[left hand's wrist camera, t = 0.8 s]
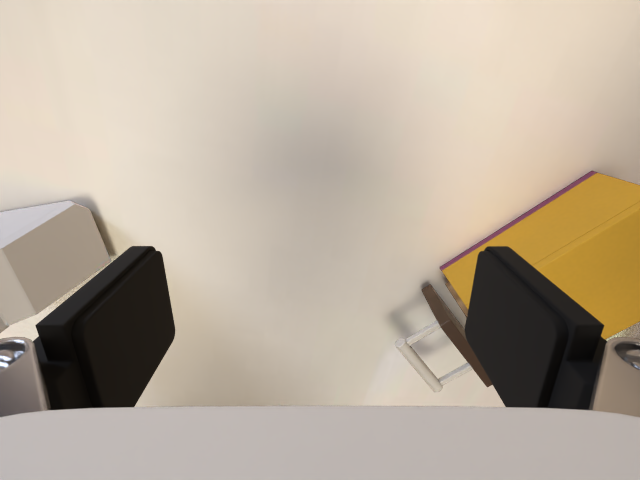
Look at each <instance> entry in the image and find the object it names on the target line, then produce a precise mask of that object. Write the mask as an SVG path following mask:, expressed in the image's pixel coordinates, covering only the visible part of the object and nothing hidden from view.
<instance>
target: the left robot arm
mask: <svg viewBox="0 0 640 480" xmlns="http://www.w3.org/2000/svg"><path fill="white" fill-rule="evenodd" d="M36 328H37V331H38V334H39V337H38V338H36V339H35V340H34V341H33V342H32V340H30V339H28V338H25V337H10V338H3V339H0V480H640V339H637V338H630V337H615V338H612V339H610V340H608V342H607V341H606V340H605V339H604V338H602V337H601V334H602V331H603V328H604V325H603V324H602V323H601V322H600V321H599V320H597V319H596V318H595V317H594V316H592V315H591V314H590V313H589V312H588V311H586V310H585V309H584V308H583V307H582V306H580V305H579V304H578V303H577V302H575V301H574V300H573V299H572V298H571V297H569V296H568V295H567V294H566V293H565V292H563V291H562V290H561V289H560V288H558V287H557V286H556V285H555V284H554V283H552V282H551V281H550V280H549V279H548V278H546V277H545V276H544V275H543V274H541V273H540V272H539V271H538V270H537V269H535V268H534V267H533V266H532V265H531V264H529V263H528V262H527V261H526V260H524V259H523V258H522V257H521V256H520V255H518V254H517V253H516V252H515V251H514V250H512V249H511V248H510V247H508V246H488V247H486V248H485V250H484V251H480V252H479V254H478V257H477V263H476V268H475V274H474V280H473V285H472V291H471V297H470V303H469V308H468V314H467V320H466V325H465V336H466V340H467V342H468V343H469V345H470V347H471V348H472V350H473V352H474V354H475V355H476V357H477V359H478V360H479V362H480V364H481V365H482V367H483V369H484V371H485V372H486V374H487V376H488V377H489V379H490V381H491V382H492V384H493V386H494V388H495V389H496V391H497V393H498V394H499V396H500V398H501V399H502V401H503V403H504V405H505V406H506V407H464V406H176V407H134V406H135V405H136V403H137V401H138V399H139V398H140V396H141V394H142V393H143V391H144V389H145V388H146V386H147V384H148V382H149V381H150V379H151V377H152V376H153V374H154V372H155V371H156V369H157V367H158V365H159V364H160V362H161V360H162V359H163V357H164V355H165V354H166V352H167V350H168V348H169V347H170V345H171V343H172V342H173V340H174V336H175V325H174V320H173V314H172V308H171V303H170V297H169V291H168V285H167V280H166V274H165V268H164V263H163V257H162V254H161V252H160V251H156V250H155V248H154V247H152V246H132V247H130V248H129V249H128V250H126V251H125V252H124V253H123V254H122V255H120V256H119V257H118V258H117V259H116V260H114V261H113V262H112V263H111V264H109V265H108V266H107V267H106V268H105V269H103V270H102V271H101V272H100V273H99V274H97V275H96V276H95V277H94V278H92V279H91V280H90V281H89V282H88V283H86V284H85V285H84V286H83V287H82V288H80V289H79V290H78V291H77V292H75V293H74V294H73V295H72V296H71V297H69V298H68V299H67V300H66V301H65V302H63V303H62V304H61V305H60V306H58V307H57V308H56V309H55V310H54V311H52V312H51V313H50V314H49V315H48V316H46V317H45V318H44V319H43V320H41V321H40V322H39V323H38V324H37V325H36Z"/></svg>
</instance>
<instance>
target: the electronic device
mask: <svg viewBox="0 0 640 480" xmlns="http://www.w3.org/2000/svg"><path fill="white" fill-rule="evenodd" d="M109 262H111V259H110V257H109V254H108V252H107V250H106V247H105V245H104V242H103V240H102V238H101V235H100V233H99V230H98V228H97V226H96V223H95V221H94V218H93V216H92V214H91V211H90V209H88V208H87V207H84V206H82V205H79V204H77V203H75V202H72V201H70V200H69V201H64V202H58V203H52V204H46V205H40V206H34V207H28V208H22V209H16V210H10V211H4V212H0V333H1V332H2V331H4V330H5V329H6V328H8V327H9V325H12V324H14V323H17V322H19V321H21V320H24V319H26V318H29V317H31V316H34V315H36V314H38V313H39V312H41V311H42V310H43V309H45V308H46V307H48V306H49V305H50V304H52V303H53V302H55V301H56V300H57V299H59V298H60V297H62V296H63V295H64V294H66V293H67V292H69V291H70V290H71V289H73V288H74V287H76V286H77V285H79V284H80V283H81V282H83V281H84V280H86V279H87V278H88V277H90V276H91V275H93V274H94V273H95V272H97V271H98V270H100V269H101V268H102V267H104V266H105V265H107V264H108V263H109Z"/></svg>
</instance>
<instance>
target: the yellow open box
mask: <svg viewBox="0 0 640 480" xmlns="http://www.w3.org/2000/svg"><path fill="white" fill-rule="evenodd" d="M488 246H508V247H510V248H511V249H512V250H514V251H515V252H516V253H517V254H518V255H520V256H521V257H522V258H523V259H524V260H526V261H527V262H528V263H529V264H531V265H532V266H533V267H534V268H535V269H537V270H538V271H539V272H540V273H541V274H543V275H544V276H545V277H546V278H548V279H549V280H550V281H551V282H552V283H554V284H555V285H556V286H557V287H558V288H560V289H561V290H562V291H563V292H565V293H566V294H567V295H568V296H569V297H571V298H572V299H573V300H574V301H575V302H577V303H578V304H579V305H580V306H582V307H583V308H584V309H585V310H586V311H588V312H589V313H590V314H591V315H592V316H594V317H595V318H596V319H597V320H599V321H600V322H601V323H602V324H603V325H604V328H603V331H602V334H601V337H602V338H604V339H607V338H609V337H611V336H613V335H615V334H616V333H618V332H620V331H622V330H624V329H626V328H628V327H630V326H632V325H634V324H636V323H638V322H639V321H640V185H637V184H634V183H630V182H627V181H624V180H620V179H617V178H613V177H610V176H607V175H603V174H600V173H597V172H594V171H591V172H589V173H588V174H586V175H585V176H583V177H582V178H580V179H578V180H577V181H575V182H574V183H572V184H571V185H569V186H567V187H566V188H564V189H563V190H561V191H559V192H558V193H556V194H555V195H553V196H552V197H550V198H548V199H547V200H545V201H544V202H542V203H541V204H539V205H537V206H536V207H534V208H533V209H531V210H530V211H528V212H526V213H525V214H523V215H522V216H520V217H518V218H517V219H515V220H514V221H512V222H511V223H509V224H507V225H506V226H504V227H503V228H501V229H500V230H498V231H496V232H495V233H493V234H492V235H490V236H489V237H487V238H485V239H484V240H482V241H481V242H479V243H478V244H476V245H474V246H473V247H471V248H470V249H468V250H466V251H465V252H463V253H462V254H460V255H459V256H457V257H455V258H454V259H452V260H451V261H449V262H448V263H446V264H444V265H443V266H441V267H440V269H441V271H442V272H443V273H444V275H445V276H446V278H447V279H448V281H449V282H450V284H451V285H452V287H453V288H454V290H455V291H456V293H457V294H458V296H459V297H460V298H461V300H462V301H463V303H464V304H465V306H466V307H467V309H468V308H469V303H470V297H471V291H472V285H473V280H474V274H475V268H476V263H477V257H478V254H479V252H480V251H484V250H485V248H486V247H488Z"/></svg>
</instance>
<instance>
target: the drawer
mask: <svg viewBox="0 0 640 480" xmlns="http://www.w3.org/2000/svg"><path fill="white" fill-rule="evenodd" d="M446 286H447V288H448V289H449V291H450V292H451V294H452V295H453V297H454V299H455V300H456V302H457V303H458V305H459V306H460V308H461V309H462V311H463V312H464V314H465V316H466V317H467V314H468V309H467V307H466V306H465V304H464V303H463V301H462V300H461V298H460V297H459V296H458V294H457V293H456V291H455V290H454V288H453V287H452V285H451V284H450V282H447V283H446ZM422 292H423V294H424V296H425V298H426V300H427V302H428V304H429V306H430V308H431V310H432V312H433V314H434V315H435V317H436V319H437V321H435V322H433V323H432V324H430V325H428V326H427V327H425V328H423V329H422V330H420V331H418V332H417V333H415V334H413V335H412V336H410V337H408V338H407V339H406V340H405V339H404V338H400V339H398V340H397V341H396V343H395V346H396V348H397V349H398V350H399V351H400V352H401V353H402V355H403V356H404V357H405V358H406V359H407V361H408V362H409V363H410V364H411V365H412V366H413V368H414V369H415V370H416V371H417V372H418V374H419V375H420V376H421V377H422V378H423V379H424V381H425V382H426V383H427V384H428V385H429V386H430V388H431V389H432V390H433V391H434V392H439V391H441V390H442V387H443V386H442V385H445V384H446V383H448V382H450V381H452V380H454V379H455V378H457V377H459V376H461V375H463V374H465V373H466V372H468V371H470V370H472V369H474V371H475V372H476V373H477V375H478V376H479V377H480V379H481V380H482V381H483V382H484V384H485V385H486V386H487V387H489V386H491V385H493V384H492V382H491V381H490V379H489V377H488V376H487V374H486V372H485V371H484V369H483V367H482V365H481V364H480V362H479V360H478V359H477V357H476V355H475V354H474V352H473V350H472V348H471V347H470V345H469V343H468V342H467V340H466V336H465V330H464V329H463V327H462V326H461V325H460V323H459V322H458V321H457V319H456V318H455V317H454V315H453V314H452V313H451V311H450V310H449V308H448V307H447V306H446V304H445V303H444V302H443V300H442V299H441V298H440V296H439V295H438V294H437V292H436V291H435V290H434V288H433V287H432V286H431V285H428V286H427V287H425V288H424V289H422ZM439 328H442V329H443V331H444V332H445V333H446V335H447V336H448V337H449V338H450V340H451V341H452V342H453V344H454V345H455V346H456V348H457V349H458V350H459V351H460V353H461V354H462V355H463V357H464V358H465V359H466V360H467V362H468V363H466V364H464V365H462V366H461V367H459V368H457V369H455V370H453V371H452V372H450V373H448V374H446V375H444V376H443V377H441V378H439V380H438V379H437V378H436V376H435V375H434V374H433V373H432V372H431V370H430V369H429V368H428V367H427V365H426V364H425V363H424V362H423V361H422V359H421V358H420V357H419V356H418V355H417V353H416V352H415V351H414V350H413V349H412V347H411V346H410V345H412V344H413V343H415V342H417V341H419V340H420V339H422V338H424V337H425V336H427V335H429V334H430V333H432V332H434V331H435V330H437V329H439Z"/></svg>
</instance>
